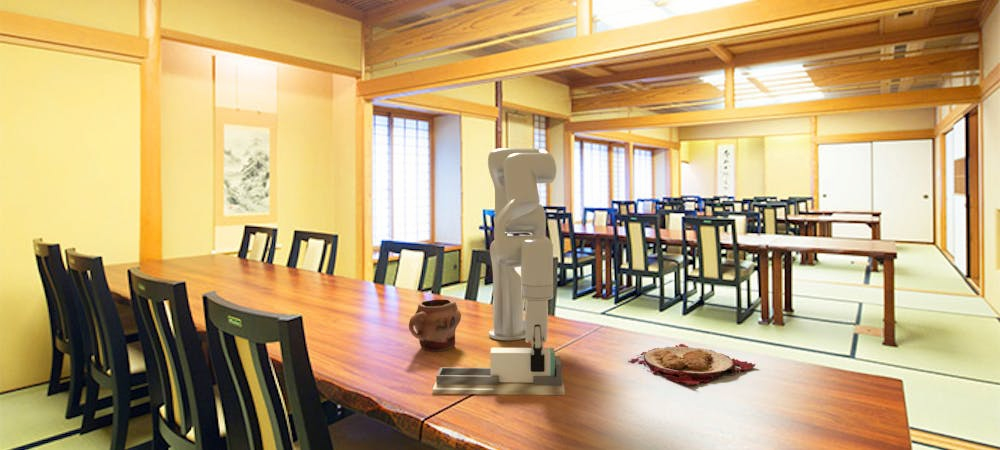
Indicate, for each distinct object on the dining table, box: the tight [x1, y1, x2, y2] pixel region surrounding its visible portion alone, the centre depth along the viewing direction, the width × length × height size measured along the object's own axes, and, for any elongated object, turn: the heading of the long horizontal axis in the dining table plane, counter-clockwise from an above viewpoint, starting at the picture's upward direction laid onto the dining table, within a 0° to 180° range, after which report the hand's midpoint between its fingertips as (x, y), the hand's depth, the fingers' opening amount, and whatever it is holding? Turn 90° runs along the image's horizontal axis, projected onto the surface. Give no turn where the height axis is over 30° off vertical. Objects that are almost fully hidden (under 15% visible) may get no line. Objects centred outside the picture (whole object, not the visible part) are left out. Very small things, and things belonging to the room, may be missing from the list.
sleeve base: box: [432, 366, 566, 396], centre depth 121 cm, size 30×12×3 cm, turn 87°
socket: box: [533, 355, 563, 386], centre depth 120 cm, size 6×6×5 cm
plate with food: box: [627, 343, 757, 386], centre depth 134 cm, size 24×26×4 cm
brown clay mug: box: [408, 298, 462, 352], centre depth 149 cm, size 20×12×14 cm, turn 150°
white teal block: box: [489, 347, 556, 383], centre depth 120 cm, size 15×4×7 cm, turn 87°
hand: (537, 367), depth 120 cm, fingers closed on white teal block, 4 cm apart
